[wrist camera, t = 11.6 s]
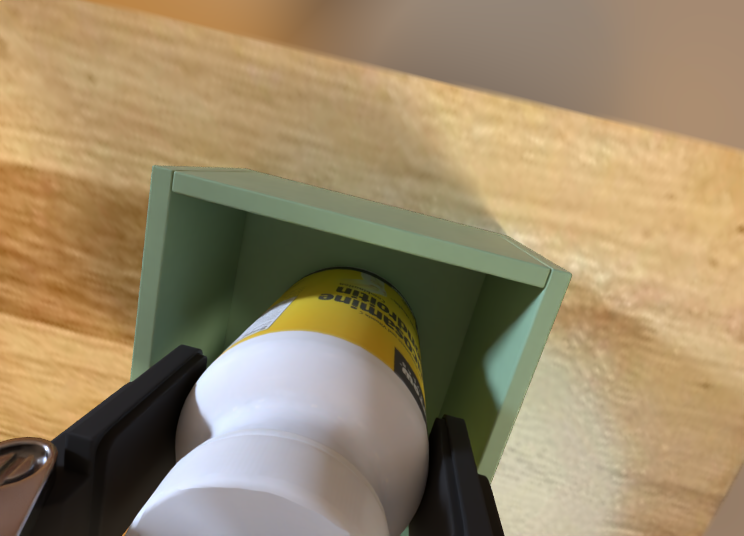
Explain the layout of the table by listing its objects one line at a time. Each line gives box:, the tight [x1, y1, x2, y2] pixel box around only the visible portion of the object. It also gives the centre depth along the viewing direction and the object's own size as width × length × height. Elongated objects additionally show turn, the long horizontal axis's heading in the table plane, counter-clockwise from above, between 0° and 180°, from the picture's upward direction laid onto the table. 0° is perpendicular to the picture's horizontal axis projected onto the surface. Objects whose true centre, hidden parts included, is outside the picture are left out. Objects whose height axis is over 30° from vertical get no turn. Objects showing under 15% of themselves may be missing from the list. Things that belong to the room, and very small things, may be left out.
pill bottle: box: [125, 266, 429, 536], centre depth 12 cm, size 6×6×12 cm
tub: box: [130, 165, 572, 536], centre depth 15 cm, size 12×12×6 cm
